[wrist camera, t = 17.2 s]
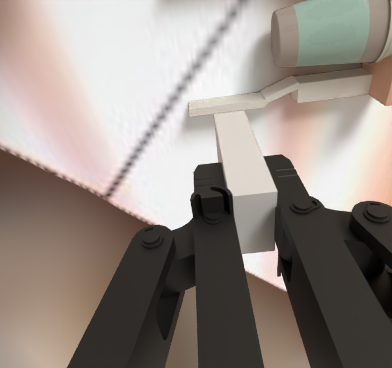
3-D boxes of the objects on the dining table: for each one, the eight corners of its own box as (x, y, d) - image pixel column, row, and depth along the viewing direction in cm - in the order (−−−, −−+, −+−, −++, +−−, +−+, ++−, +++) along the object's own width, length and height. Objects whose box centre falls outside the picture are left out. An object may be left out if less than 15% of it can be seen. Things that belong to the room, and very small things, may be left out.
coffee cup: (270, 69, 40) (367, 52, 38) (283, 89, 33) (402, 70, 31) (267, -7, 35) (377, -29, 33) (281, -2, 28) (422, -30, 26)
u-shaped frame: (189, 108, 42) (190, 130, 36) (168, -44, 32) (164, -47, 26) (380, 83, 41) (411, 102, 35) (419, -82, 31) (472, -94, 25)
